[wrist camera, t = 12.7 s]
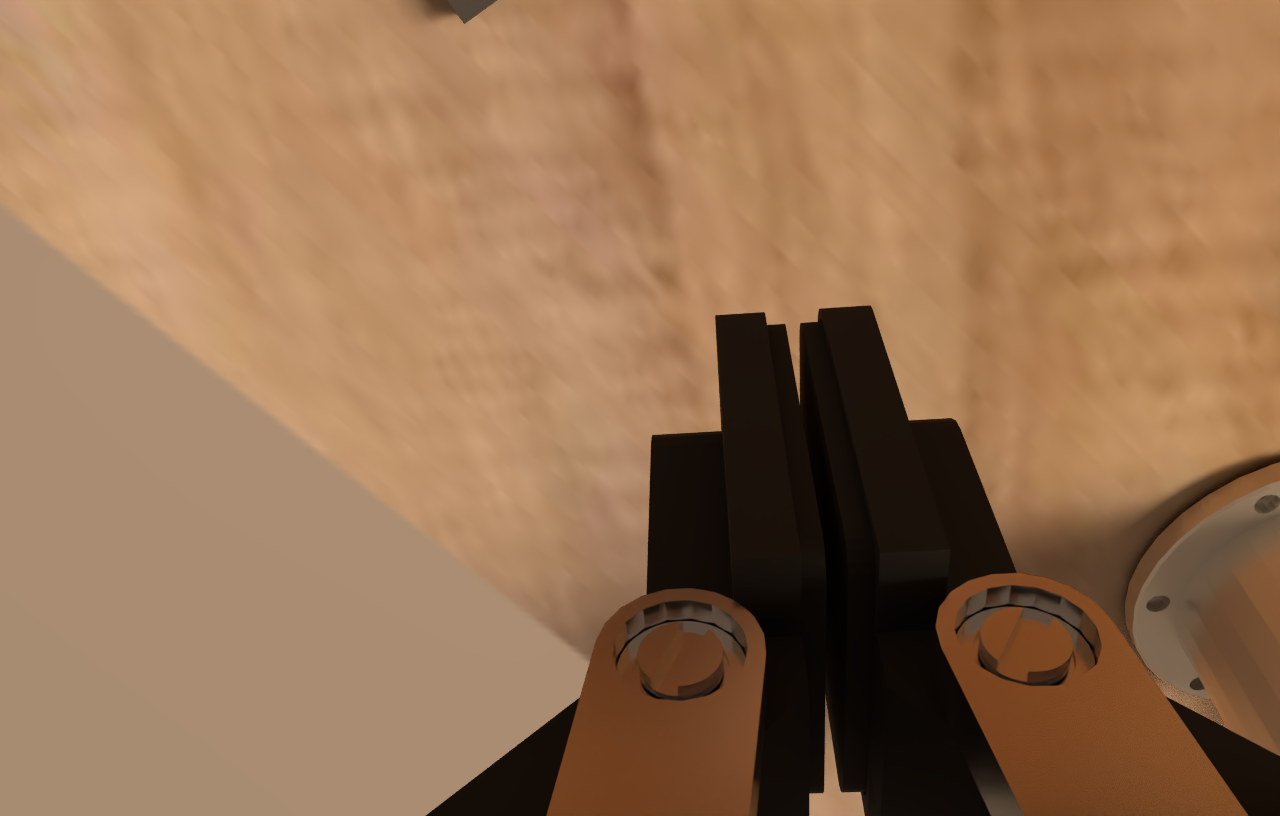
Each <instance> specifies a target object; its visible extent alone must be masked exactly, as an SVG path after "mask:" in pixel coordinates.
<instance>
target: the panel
mask: <svg viewBox="0 0 1280 816" xmlns="http://www.w3.org/2000/svg"><path fill="white" fill-rule="evenodd" d="M447 1H448V3H449V4H450V5H451V7H452V8H453V9H454V11H455V12H456V13H457V15H458V16H459V17H460V19H461V20H462V21H463V23H464V24H465V23H466V22H468V21H469V20H471V19H472V18H473V17H475V16H476V15H477V14H479V13H480V12H482V11H483V10H484V9H486V8H487V7H488V6H490V5H491V4H493V3H494V2H495V1H497V0H447Z"/></svg>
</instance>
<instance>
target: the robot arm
mask: <svg viewBox="0 0 1280 816" xmlns="http://www.w3.org/2000/svg"><path fill="white" fill-rule="evenodd" d="M715 320H716V339H717V357H718V376H719V394H720V412H721V430H722V431H716V432H699V433H681V434H663V435H652V440H651V466H650V499H649V532H648V566H647V595H644V596H641V597H639V598H638V599H636V600H634V601H632V602H630V603H629V604H627V605H625V606H623V607H621V608H620V609H619V610H618V611H617V612H616V613H615V614H614V615H613V616H612V617H611V618H610V619H609V620H608V621H607V622H606V623H605V624H604V626H603V628H602V630H601V632H600V634H599V636H598V638H597V640H596V642H595V646H594V650H593V653H592V657H591V660H590V664H589V667H588V671H587V674H586V678H585V682H584V685H583V688H582V692H581V696H580V698H579V699H577V700H576V701H575V702H573V703H572V704H571V705H569V706H568V707H567V708H565V709H564V710H563V711H562V712H560V713H559V714H558V715H556V716H555V717H554V718H553V719H551V720H550V721H548V722H547V723H546V724H545V725H543V726H542V727H541V728H539V729H538V730H537V731H536V732H534V733H533V734H532V735H530V736H529V737H528V738H526V739H525V740H524V741H522V742H521V743H520V744H518V745H517V746H516V747H515V748H513V749H512V750H511V751H509V752H508V753H507V754H505V755H504V756H503V757H502V758H500V759H499V760H498V761H496V762H495V763H494V764H492V765H491V766H490V767H489V768H487V769H486V770H485V771H483V772H482V773H481V774H479V775H478V776H477V777H475V778H474V779H473V780H472V781H470V782H469V783H468V784H466V785H465V786H464V787H462V788H461V789H460V790H459V791H457V792H456V793H455V794H453V795H452V796H451V797H449V798H448V799H447V800H446V801H444V802H443V803H442V804H440V805H439V806H438V807H437V808H435V809H434V810H432V811H431V812H430V813H429V814H427V815H426V816H809V793H823V792H824V755H825V695H826V702H827V708H828V715H829V721H830V728H831V734H832V741H833V748H834V754H835V761H836V767H837V774H838V780H839V786H840V790H841V792H861V795H862V801H863V807H864V813H865V816H1280V462H1279V463H1275V464H1272V465H1270V466H1267V467H1265V468H1262V469H1259V470H1257V471H1254V472H1252V473H1249V474H1247V475H1244V476H1242V477H1239V478H1238V479H1236V480H1234V481H1232V482H1230V483H1228V484H1227V485H1225V486H1223V487H1221V488H1219V489H1217V490H1216V491H1214V492H1212V493H1210V494H1208V495H1207V496H1206V497H1204V498H1203V499H1201V500H1200V501H1199V502H1197V503H1196V504H1194V505H1193V506H1192V507H1190V508H1189V509H1188V510H1186V511H1185V512H1183V513H1182V514H1181V515H1180V516H1179V517H1178V518H1177V519H1176V520H1175V521H1173V522H1172V523H1171V524H1170V525H1169V526H1168V527H1167V528H1166V529H1165V530H1164V531H1163V532H1162V533H1161V534H1160V535H1159V536H1158V537H1157V538H1156V540H1155V541H1154V542H1153V544H1152V545H1151V546H1150V548H1149V549H1148V550H1147V552H1146V553H1145V554H1144V556H1143V557H1142V558H1141V560H1140V562H1139V564H1138V566H1137V568H1136V570H1135V572H1134V574H1133V576H1132V578H1131V580H1130V582H1129V587H1128V591H1127V596H1126V600H1125V618H1126V626H1127V629H1128V631H1129V634H1130V636H1131V639H1132V641H1133V644H1134V645H1135V647H1136V649H1137V651H1138V653H1139V654H1140V656H1141V658H1142V659H1143V661H1144V663H1145V665H1146V666H1147V667H1148V668H1149V669H1150V670H1151V671H1152V672H1153V673H1154V674H1155V675H1156V676H1157V677H1159V678H1160V679H1161V680H1162V681H1164V682H1166V683H1167V684H1169V685H1171V686H1173V687H1175V688H1176V689H1178V690H1180V691H1183V692H1186V693H1189V694H1192V695H1195V696H1198V697H1201V698H1206V699H1211V700H1212V702H1213V704H1214V706H1215V707H1216V709H1217V711H1218V713H1219V715H1220V716H1221V718H1222V720H1223V722H1224V724H1225V725H1226V727H1227V728H1225V727H1223V726H1221V725H1219V724H1217V723H1215V722H1213V721H1212V720H1210V719H1208V718H1206V717H1204V716H1202V715H1200V714H1198V713H1196V712H1194V711H1192V710H1190V709H1189V708H1187V707H1185V706H1183V705H1181V704H1179V703H1177V702H1175V701H1173V700H1171V699H1169V698H1168V697H1166V696H1165V695H1164V694H1163V692H1162V691H1161V690H1160V688H1159V687H1158V685H1157V684H1156V682H1155V681H1154V679H1153V678H1152V677H1151V675H1150V674H1149V672H1148V671H1147V669H1146V668H1145V667H1144V665H1143V664H1142V662H1141V661H1140V659H1139V658H1138V656H1137V655H1136V654H1135V652H1134V651H1133V649H1132V648H1131V646H1130V645H1129V644H1128V642H1127V641H1126V639H1125V638H1124V636H1123V635H1122V634H1121V632H1120V631H1119V629H1118V628H1117V626H1116V625H1115V623H1114V622H1113V621H1112V619H1111V618H1110V617H1109V616H1108V615H1107V614H1106V613H1105V612H1104V611H1103V610H1102V609H1101V608H1100V607H1099V606H1098V605H1097V603H1096V602H1094V601H1093V600H1091V599H1090V598H1088V597H1087V596H1085V595H1083V594H1082V593H1080V592H1079V591H1077V590H1076V589H1074V588H1072V587H1070V586H1067V585H1064V584H1062V583H1059V582H1056V581H1054V580H1051V579H1048V578H1045V577H1039V576H1033V575H1027V574H1021V573H1017V572H1016V570H1015V567H1014V565H1013V562H1012V559H1011V557H1010V554H1009V552H1008V549H1007V547H1006V544H1005V542H1004V539H1003V536H1002V534H1001V531H1000V529H999V526H998V524H997V521H996V519H995V516H994V513H993V511H992V508H991V506H990V503H989V501H988V498H987V496H986V493H985V491H984V488H983V485H982V483H981V480H980V478H979V475H978V473H977V470H976V468H975V465H974V462H973V460H972V457H971V455H970V452H969V450H968V447H967V445H966V442H965V439H964V437H963V434H962V432H961V429H960V427H959V425H958V424H957V422H956V420H954V419H952V418H946V419H929V420H911V421H909V420H908V417H907V414H906V411H905V408H904V404H903V401H902V398H901V395H900V392H899V389H898V386H897V383H896V380H895V377H894V374H893V371H892V368H891V364H890V361H889V358H888V355H887V352H886V349H885V346H884V343H883V340H882V337H881V334H880V331H879V328H878V324H877V321H876V318H875V315H874V312H873V309H872V307H871V306H855V307H839V308H823V309H819V312H818V322H809V323H801V324H800V404H799V398H798V392H797V387H796V381H795V376H794V370H793V364H792V359H791V353H790V347H789V342H788V336H787V331H786V326H785V324H778V325H767V323H766V317H765V313H764V312H761V313H745V314H730V315H715Z"/></svg>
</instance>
